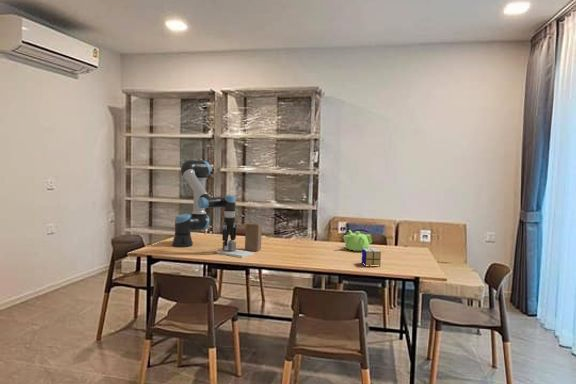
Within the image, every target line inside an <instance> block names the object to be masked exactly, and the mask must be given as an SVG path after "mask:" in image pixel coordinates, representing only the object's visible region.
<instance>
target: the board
mask: <svg viewBox="0 0 576 384" xmlns="http://www.w3.org/2000/svg"><path fill="white" fill-rule="evenodd" d="M216 254H219V255H224V256H229V257H234V256H235V257H236V258H246V257H250V256H254V254H255V251H246V250H241V249H236V251H225V250H223V249H221V250H217V251H216ZM235 257H234V258H235Z"/></svg>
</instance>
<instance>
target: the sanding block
mask: <svg viewBox="0 0 576 384" xmlns="http://www.w3.org/2000/svg"><path fill="white" fill-rule="evenodd" d="M222 250H225V245H224V241H222ZM236 250H237V241H234V242H232V241H230V240H228V251H236ZM225 251H227V250H225Z"/></svg>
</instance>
